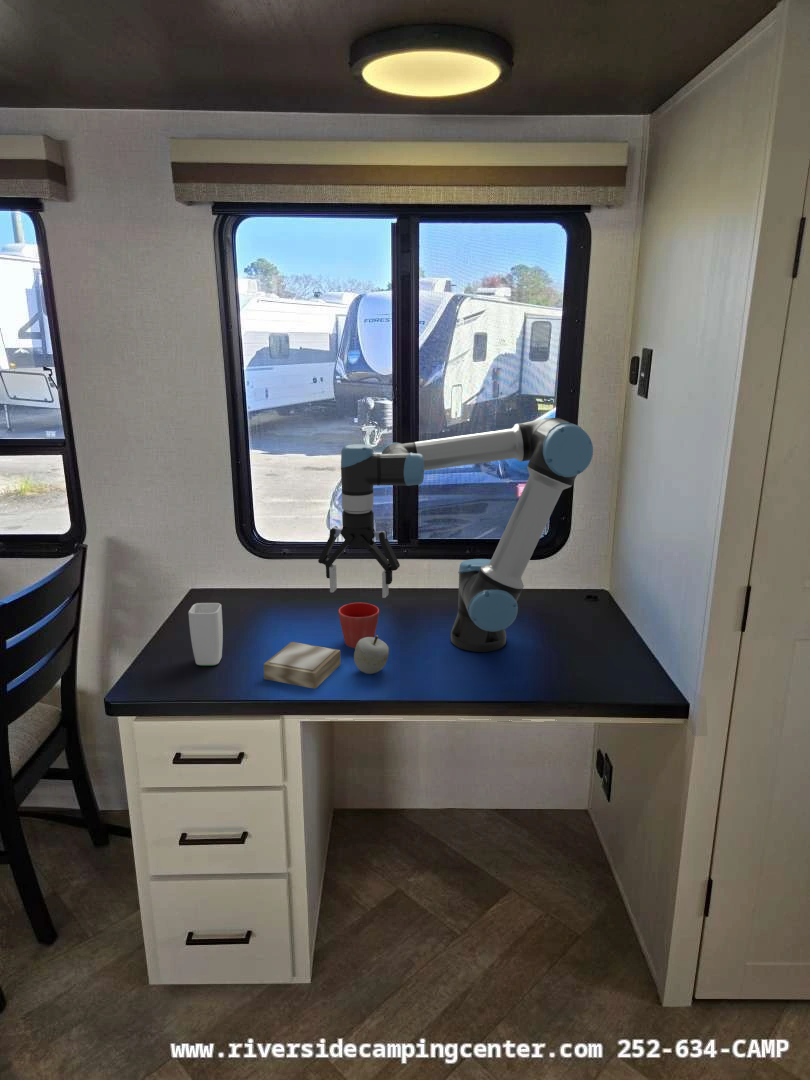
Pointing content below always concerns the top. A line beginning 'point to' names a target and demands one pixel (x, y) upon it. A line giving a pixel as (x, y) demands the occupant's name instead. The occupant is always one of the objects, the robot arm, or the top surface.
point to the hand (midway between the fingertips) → (359, 593)
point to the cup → (206, 633)
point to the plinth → (302, 665)
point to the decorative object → (371, 654)
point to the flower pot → (358, 622)
